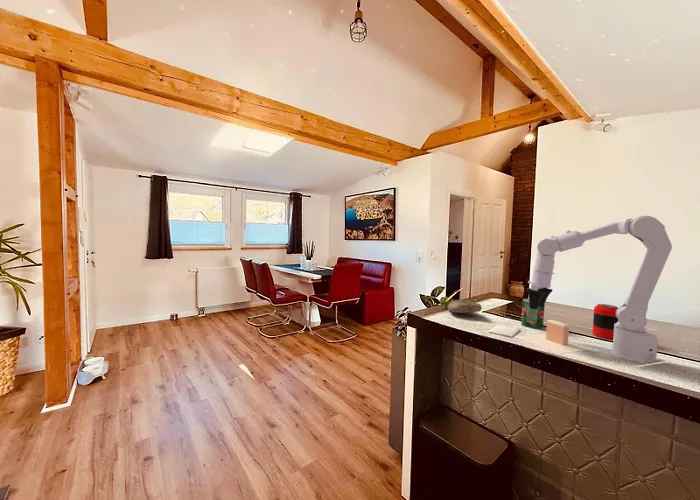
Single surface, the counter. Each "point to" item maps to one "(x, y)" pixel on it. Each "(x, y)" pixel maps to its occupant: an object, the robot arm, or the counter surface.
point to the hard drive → (504, 331)
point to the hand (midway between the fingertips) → (536, 307)
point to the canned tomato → (532, 316)
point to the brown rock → (463, 306)
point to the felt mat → (550, 344)
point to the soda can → (604, 321)
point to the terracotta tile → (557, 332)
